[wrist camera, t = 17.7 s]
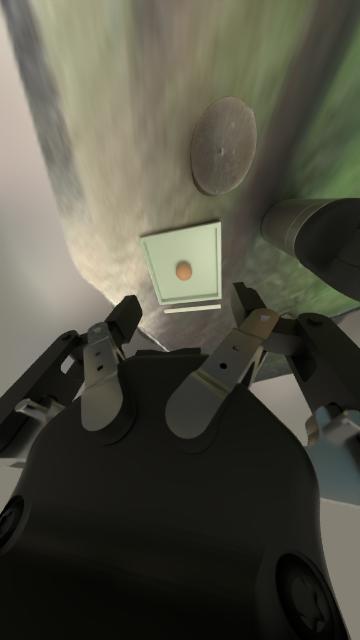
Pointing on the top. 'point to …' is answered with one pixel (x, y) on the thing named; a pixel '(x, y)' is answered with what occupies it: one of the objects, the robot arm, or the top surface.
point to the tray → (185, 248)
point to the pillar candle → (223, 146)
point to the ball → (184, 272)
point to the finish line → (192, 308)
